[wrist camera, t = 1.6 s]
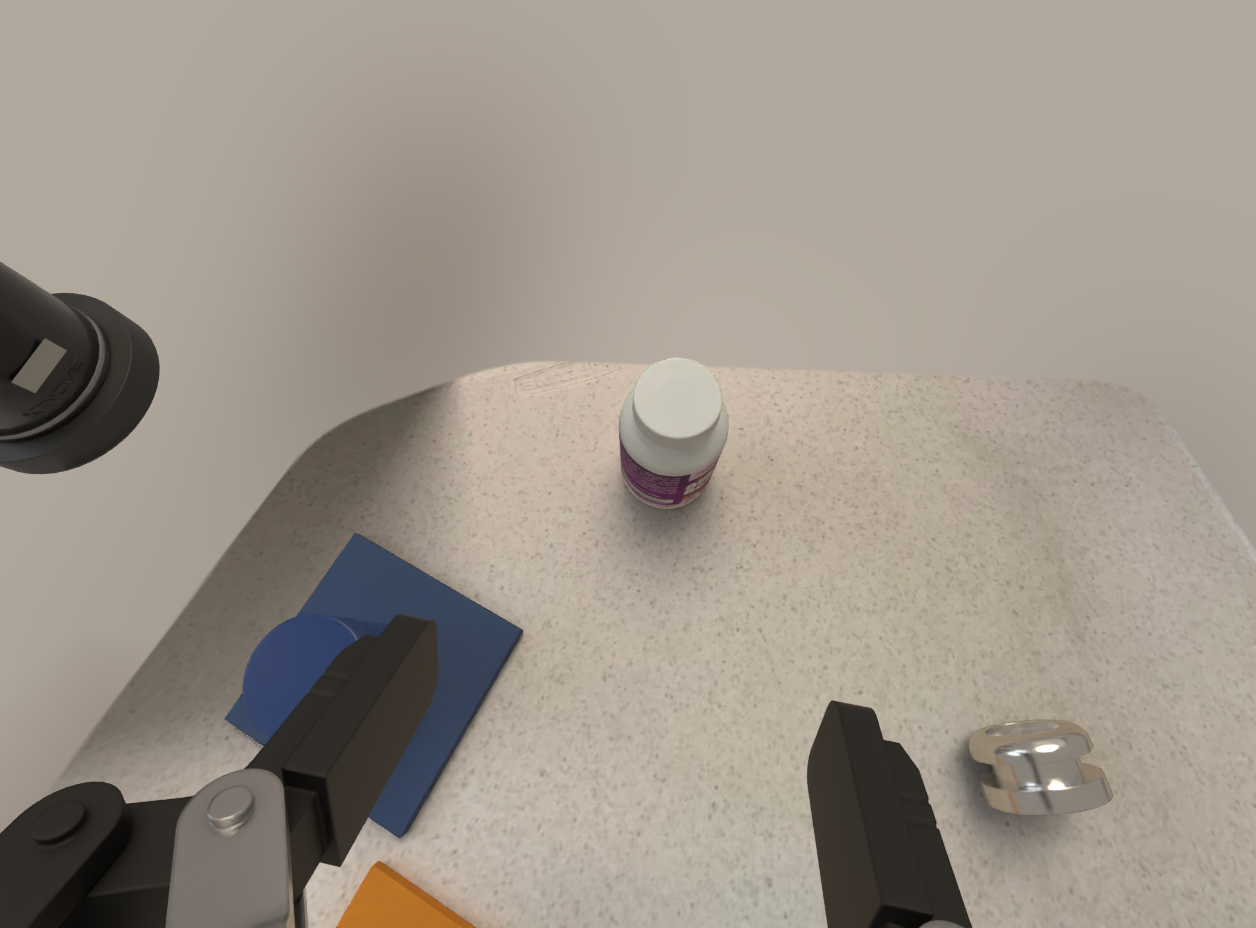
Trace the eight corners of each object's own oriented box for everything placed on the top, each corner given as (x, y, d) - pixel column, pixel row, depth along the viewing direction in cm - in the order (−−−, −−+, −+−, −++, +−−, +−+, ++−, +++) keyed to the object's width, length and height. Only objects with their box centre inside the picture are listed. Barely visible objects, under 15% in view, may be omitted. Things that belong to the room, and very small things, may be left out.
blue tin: (307, 693, 30) (215, 702, 24) (365, 606, 32) (294, 591, 25) (385, 745, 30) (313, 769, 23) (442, 653, 31) (389, 651, 24)
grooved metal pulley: (966, 797, 29) (1030, 823, 24) (944, 732, 30) (1002, 745, 25) (1061, 776, 29) (1143, 798, 25) (1037, 713, 30) (1111, 722, 26)
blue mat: (233, 717, 31) (223, 719, 30) (361, 535, 34) (354, 532, 33) (405, 834, 29) (399, 838, 28) (523, 630, 32) (521, 629, 31)
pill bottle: (698, 522, 34) (722, 470, 25) (610, 497, 34) (601, 436, 25) (721, 438, 35) (751, 360, 26) (636, 415, 36) (636, 330, 27)
